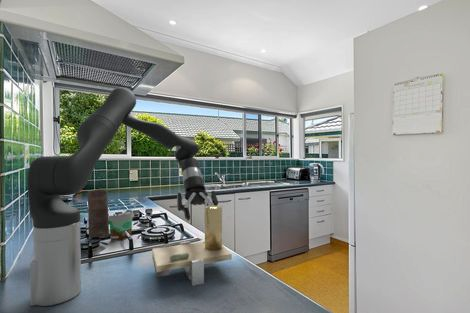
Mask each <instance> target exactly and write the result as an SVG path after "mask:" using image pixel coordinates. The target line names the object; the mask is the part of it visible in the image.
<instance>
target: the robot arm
mask: <svg viewBox="0 0 470 313" xmlns="http://www.w3.org/2000/svg"><path fill="white" fill-rule="evenodd" d="M104 100H105V101H104V102H103V104H101V105H100V106H99V107H98V108H97V109H95V110H94V111H93V112H92V113H91V114H89V116H87V117H86V118H85V119H84V120H83V122H82V123H81V124H80V125H79V127H78V128H77V132H76V138H77V142H78V145H79V148H78V149H77V150H76V152H74V153H73V154H71V155H46V156H39V157H36V158H35V159H34V160H32V162H31V163H30V165H29V167H28V169H27V178H26V179H27V180H26V184H27V194H28V196H27V197H28V208H29V214H30V217H31V219H32V223H33V224H32V225H33V227H32V231H33V235H32V236H33V259H32V260H31V262H30V264H29V267H30V268H29V270H30V272H29V274H30V275H29V276H30V277H29V280H30V281H29V282H30V283H29V284H30V285H29V286H30V287H29V288H30V306H31V307H32V306H40V307H47V306H54V305H59V304H61V303H66V302H67V301H69V300H71V299H73V298H75V297H76V296H78V295H79V294H80V293H81V290H82V276H81V275H82V273H81V272H82V266H81V265H82V264H81V262H82V261H81V260H82V256H81V249H82V248H81V247H82V246H81V245H82V244H81V243H82V242H81V211H80V210H79V208H77V207H75V206H73V205H70V204H68V203H66V202H64V201H63V200H62V198H61V196H66V195H67V196H68V195H76V194H78V193H79V192H81V191H82V190H83V189H84V188H85V187H86V185H87V183H88V182H89V180H90V178H91V176H92V173H93V172H94V170H95V167H96V165H97V164H98V161H99V159H100V158H101V157H102V154H103V153H104V151H105V150H106V149H107V148H108V146H109V145H110V143H111V142H112V140H113V139H114V138H115V136H116V134H117V133H118V131H119V129H120V126H121V125H124V126H126V127H129V128H130V129H132V130H135V131H137V132H139V133H140V134H144V135H145V136H147V137H149V138H150V139H152V140H154V141H155V142H157V143H158V144H159V145H160V146H163V147H164V148H165V149H167V150H171V149H173V148H175V147H178V149H177V150H176V151H175V153H174V157H175V159H176V161H177V163H178V165H179V166H180V168H181V173H182V184H183V190H184V193H183V194H182V193H181V192H178V193H177V196H176V202H177V211H180V212H181V211H182V212H183V214H184V218H185V220H187V221H190V220H191V214H190V208H191V205H192V206H197V205H198V206H201V205H203V206H204V207H206V206H219V200H218V198H217V195H216V192H215V191H214V190H211V192H207V191H206V187H205V182H204V177H203V174H202V173H201V169H200V166H199V162H198V160H197V158H194V157H195V156H196V155H197V154H198V153H199V151H200V148H199V145H198V144H197V142H196V141H195V140H192V139H191V138H187V137H184V136H182V135H180V134H178V133H176V132H174V131H172V130H171V129H170V128H168V126H165V125H164V124H162V123H158V122H154V121H146V120H143V119H140V118H137V117H135V116H133V115H132V114H131V112H132V111H133V110H134V108H136V104H137V98H136V96H135V94H134V93H133V92H132V90H130V89H129V88H127V87H126V88H125V87H115V88H114V89H112V90H111V92H110V93H109V95H108V96H107V97H106V99H104ZM184 199H185V200H186V202H185V205H184V204H183V201H184Z"/></svg>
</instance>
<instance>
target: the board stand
mask: <svg viewBox="0 0 470 313" xmlns="http://www.w3.org/2000/svg"><path fill="white" fill-rule="evenodd" d="M184 244H191V241H190V240H187V241H180V243H179V245H184ZM204 266H205V264H204V260H203V259H200V260H194V261H191V266H190V267H185V268H183V269H184V271H185V274H186V276H187V278H188V280H189V281H191V286H192V287H195V286H198V285H204V284H205V274H204V273H205V270H204V269H205V267H204Z"/></svg>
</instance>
